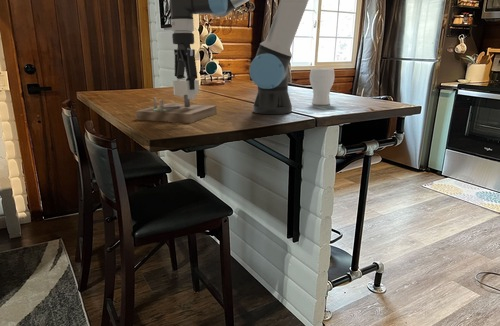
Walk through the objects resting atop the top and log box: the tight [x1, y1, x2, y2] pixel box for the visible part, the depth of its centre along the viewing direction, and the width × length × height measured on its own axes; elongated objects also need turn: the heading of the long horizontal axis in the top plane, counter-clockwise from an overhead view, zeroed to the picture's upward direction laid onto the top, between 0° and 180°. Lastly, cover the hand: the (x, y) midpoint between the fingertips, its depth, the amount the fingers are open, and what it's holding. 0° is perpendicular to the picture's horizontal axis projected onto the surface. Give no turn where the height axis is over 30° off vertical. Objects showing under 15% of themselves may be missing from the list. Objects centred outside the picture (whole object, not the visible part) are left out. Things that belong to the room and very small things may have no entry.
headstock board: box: [135, 97, 218, 124], centre depth 141 cm, size 22×20×7 cm
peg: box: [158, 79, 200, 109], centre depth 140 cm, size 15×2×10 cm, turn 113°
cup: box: [309, 67, 336, 106], centre depth 167 cm, size 11×11×15 cm
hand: (186, 97), depth 141 cm, fingers open, 8 cm apart
